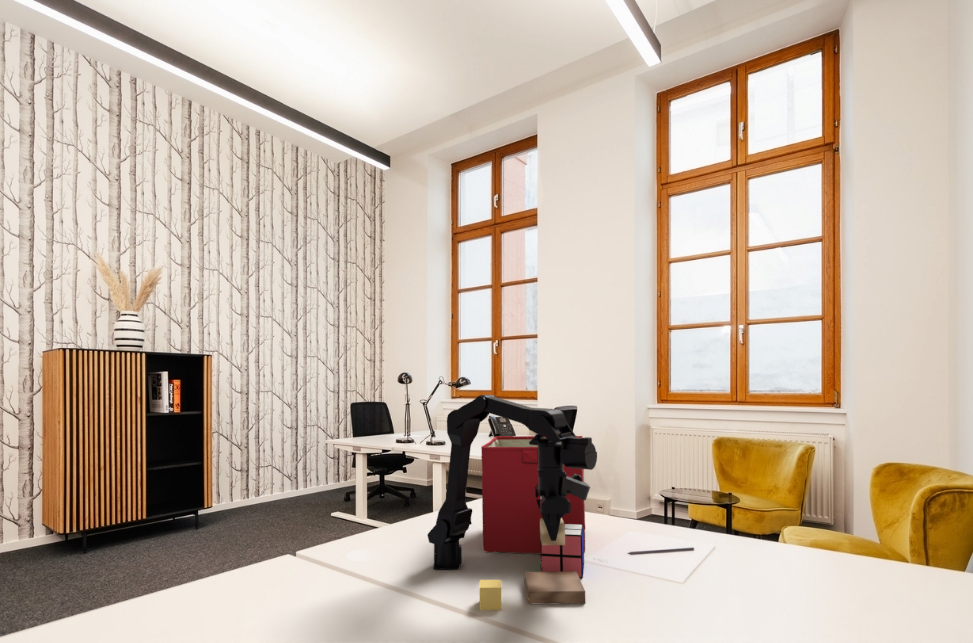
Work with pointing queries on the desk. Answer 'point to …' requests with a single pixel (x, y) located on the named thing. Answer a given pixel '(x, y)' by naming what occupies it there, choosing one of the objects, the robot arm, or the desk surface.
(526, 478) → the storage cube
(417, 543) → the desk surface
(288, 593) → the desk surface
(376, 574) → the desk surface
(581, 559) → the puzzle cube
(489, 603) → the mustard block
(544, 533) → the oak block
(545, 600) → the walnut base
